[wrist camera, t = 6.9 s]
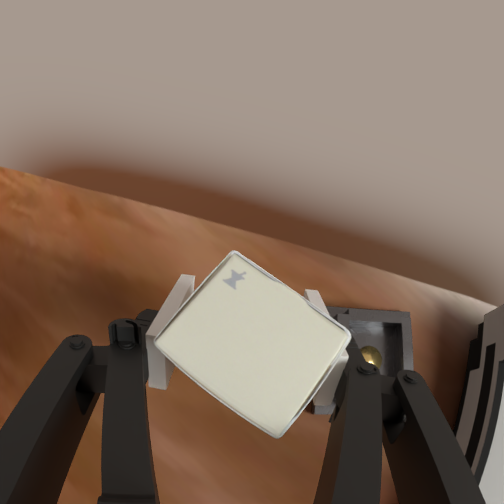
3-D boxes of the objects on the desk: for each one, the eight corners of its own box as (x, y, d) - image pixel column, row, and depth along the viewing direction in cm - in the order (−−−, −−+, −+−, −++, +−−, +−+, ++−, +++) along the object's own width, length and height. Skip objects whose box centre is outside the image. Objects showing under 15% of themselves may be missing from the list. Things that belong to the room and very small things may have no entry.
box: (185, 372, 18) (140, 335, 9) (226, 324, 20) (228, 239, 10) (250, 422, 17) (280, 444, 7) (289, 371, 19) (358, 330, 9)
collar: (311, 414, 26) (320, 414, 23) (316, 308, 31) (324, 298, 28) (408, 409, 26) (423, 407, 23) (405, 314, 31) (418, 305, 29)
